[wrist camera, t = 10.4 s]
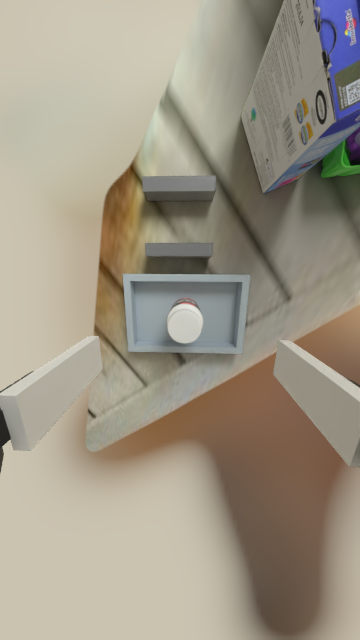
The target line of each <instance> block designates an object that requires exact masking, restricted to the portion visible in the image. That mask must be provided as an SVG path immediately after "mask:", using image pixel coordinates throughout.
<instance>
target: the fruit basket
mask: <svg viewBox="0 0 360 640" xmlns="http://www.w3.org/2000/svg"><path fill="white" fill-rule="evenodd" d="M322 164H323V170H322V172H321V177H322V178H325V177H333V176H336V175H339V176H348V175H354V174H360V127H359V128H358V129H357V130H355V131H354V132H353V133H352V134H351V135H349V136H348V137H347V138H346V139H345V140H344V141H342V142H341V143H340V144H339V145H338V146H337V147H335V148H334V149H333V150H332V151H331V152H329V153H328V154H327V155H326V156H325V157H323V162H322Z"/></svg>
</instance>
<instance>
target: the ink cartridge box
mask: <svg viewBox="0 0 360 640" xmlns="http://www.w3.org/2000/svg"><path fill="white" fill-rule="evenodd" d="M241 119H242V122H243V126H244V129H245V133H246V136H247V140H248V143H249V147H250V150H251V154H252V157H253V160H254V164H255V167H256V171H257V174H258V178H259V181H260V185H261V188H262V192H263V193H267V192H269V191H272V190H274V189H276V188H279V187H281V186H283V185H286V184H288V183H291V182H293V181H295V180H297V179H299V178H300V177H301V176H303V175H304V174H305V173H306V172H307V171H308V170H309V169H311V168H312V167H313V166H314V165H315V164H316V163H318V162H319V161H320V160H321V159H322V158H323V157H325V156H326V155H327V154H328V153H329V152H331V151H332V150H333V149H334V148H335V147H337V146H338V145H339V144H340V143H341V142H342V141H344V140H345V139H346V138H347V137H348V136H349V135H351V134H352V133H353V132H354V131H355V130H357V129H358V128H359V127H360V0H284V2H283V4H282V7H281V10H280V12H279V15H278V18H277V20H276V23H275V26H274V28H273V31H272V34H271V37H270V39H269V42H268V45H267V47H266V50H265V53H264V55H263V58H262V61H261V63H260V66H259V69H258V71H257V74H256V77H255V80H254V82H253V85H252V88H251V90H250V93H249V96H248V98H247V101H246V104H245V106H244V109H243V111H242V114H241Z"/></svg>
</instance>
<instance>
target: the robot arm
mask: <svg viewBox="0 0 360 640" xmlns="http://www.w3.org/2000/svg"><path fill="white" fill-rule="evenodd" d="M102 369H103V368H102V359H101V351H100V343H99V336H88V337H86V338H85V339H84V340H82V341H80V342H79V343H77V344H75V345H74V346H72V347H71V348H69V349H68V350H66V351H65V352H63V353H62V354H60V355H58V356H57V357H55V358H54V359H52V360H51V361H49V362H48V363H46V364H45V365H43V366H41V367H40V368H38V369H37V370H35V371H32V372H30V373H29V374H27V375H25V376H24V377H22V378H21V379H20V380H18V381H16V382H15V383H14V384H11V385H10V386H8V387H7V388H5V389H4V390H2V391H0V472H1V466H2V461H3V455H4V453H3V449H2V446H3V445H4V444H5V443H7V441H9V440H11V443H12V446H13V449H14V450H21V451H31V450H32V449H33V448H34V447H35V445H37V443H38V442H39V441H40V440H41V439H42V438H43V437H44V435H45V434H46V433H47V432H48V431H49V430H50V429H51V427H52V426H53V425H54V424H55V423H56V422H57V421H58V419H59V418H60V417H61V416H62V415H63V414H64V413H65V411H66V410H67V409H68V408H69V407H70V406H71V405H72V404H73V402H74V401H75V400H76V399H77V398H78V397H79V396H80V394H81V393H82V392H83V391H84V390H85V389H86V388H87V386H88V385H89V384H90V383H91V382H92V381H93V380H94V378H95V377H96V376H97V375H98V374H99V373H100V372H101V371H102ZM273 375H274V376H275V377H276V378H277V380H278V381H279V382H280V383H281V384H282V386H283V387H284V388H285V389H286V390H287V392H288V393H289V394H290V395H291V397H292V398H293V399H294V400H295V401H296V402H297V404H298V405H299V406H300V407H301V408H302V410H303V411H304V412H305V413H306V415H307V416H308V417H309V418H310V419H311V421H312V422H313V423H314V424H315V426H316V427H317V428H318V429H319V430H320V432H321V433H322V434H323V435H324V436H325V438H326V439H327V440H328V441H329V442H330V444H331V445H332V446H333V447H334V449H335V450H336V451H337V452H338V453H339V455H340V456H341V457H342V458H343V460H344V461H345V462H346V463H347V464H348V466H349V467H360V385H358V384H357V383H355V382H354V381H351V380H349V379H347V378H345V377H343V376H341V375H340V374H338V373H337V372H336V371H334V370H333V369H331V368H330V367H328V366H327V365H325V364H324V363H322V362H321V361H319V360H318V359H316V358H315V357H313V356H312V355H310V354H309V353H308V352H306V351H305V350H303V349H301V348H300V347H299V346H297V345H296V344H294V343H293V342H291V341H290V340H278V347H277V353H276V360H275V366H274V372H273Z"/></svg>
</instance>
